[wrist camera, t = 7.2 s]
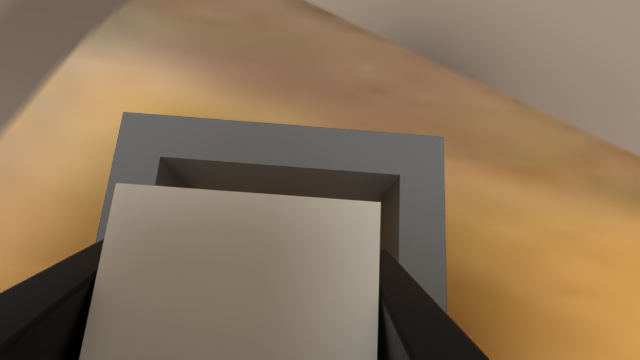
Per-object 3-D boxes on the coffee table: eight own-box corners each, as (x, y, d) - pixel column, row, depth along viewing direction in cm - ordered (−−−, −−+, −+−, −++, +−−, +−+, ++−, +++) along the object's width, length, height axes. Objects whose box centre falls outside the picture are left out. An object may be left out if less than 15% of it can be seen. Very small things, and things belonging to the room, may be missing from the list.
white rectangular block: (332, 406, 15) (373, 510, 6) (190, 397, 14) (51, 491, 6) (338, 264, 16) (380, 202, 8) (209, 255, 16) (116, 182, 8)
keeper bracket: (414, 448, 16) (449, 487, 13) (107, 429, 16) (48, 463, 12) (415, 172, 20) (443, 136, 16) (158, 153, 19) (123, 111, 15)
